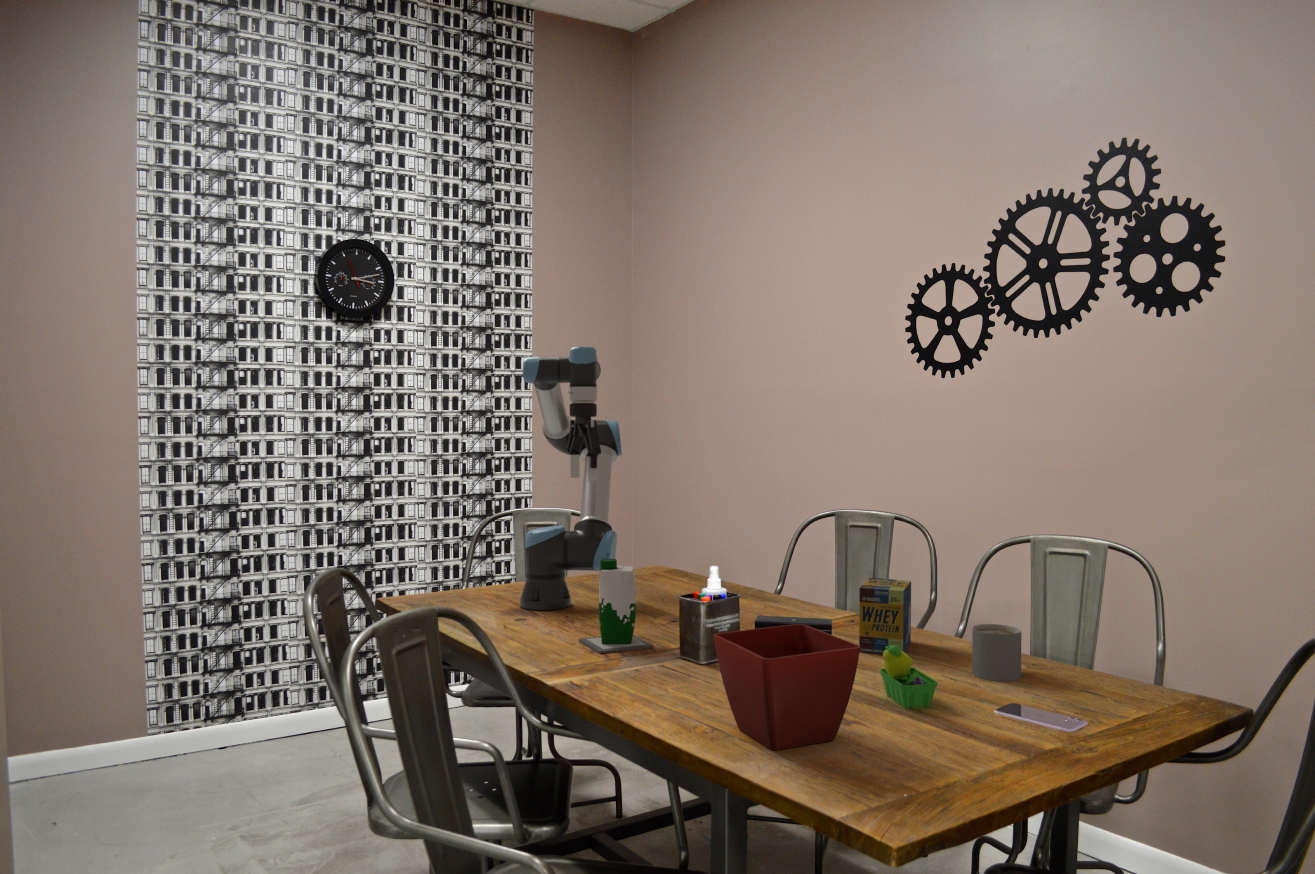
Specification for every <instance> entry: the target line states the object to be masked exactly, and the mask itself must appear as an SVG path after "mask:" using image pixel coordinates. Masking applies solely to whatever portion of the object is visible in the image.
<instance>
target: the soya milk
mask: <svg viewBox="0 0 1315 874" xmlns="http://www.w3.org/2000/svg"><path fill="white" fill-rule="evenodd" d="M617 562H618V560H617V559H616V558H615V559H602V560H600V566H601V568H600V570H599V584H598V585H599V587H598V622H599V632H600V636H601V639H602V644H631V643H632V637H633V635H634V630H635V625H636V619H637V617H636V616H637V599H636V598H637V589H636V578H635V572H634V566H633V565H631V566H630V565H629V566H627V565H626V566H624V565H618V563H617Z"/></svg>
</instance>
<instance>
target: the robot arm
mask: <svg viewBox="0 0 1315 874" xmlns="http://www.w3.org/2000/svg"><path fill="white" fill-rule="evenodd" d="M601 372H602V368H601V364H600V363H599V361H598V356H597V349H596V348H595V347H594V346H573V347H571V348H570V349H569V356H530V357H529V356H527V357H525V358H524V360H523V362H522V378H523V380H524V381H523V382H525V383H527V384H531V385H532V384H533V387H534V390H535V393H536V397H537V401H538V406H539V408H540V409H539V410H540V412H541V417H542V420H543V421H542V423H541V429H542V433H543V435H544V438H545V439H546V440H547V442H548V443H549V444H550V445H551V447H553V448H555V449H556V450H557V451H559V452H560V453H562V454H565V455H567V456H569V478H570V479H573V478H574V479H576V478H578V479H579V478H580V474H581V473H580V471H581V470H580V469H581V467H580V460H581V461H583V463H584V470H583V478H582V479H583V480H582V491H581V501H580V513H579V521H577V522H576V523H575V524H574V527H573V530H566V527H565V525H553V526H545V527H539V528H538V527H537V528H535V529H532V530H530V531H528V532H527V533H526V535H525V545H524V548H525V581H524V584H523V588H522V591H521V595H520V597H519V607H521V609H525V610H531V611H532V610H533V611H552V610H554V611H555V610H562V609H565V608H568V607H570V606H571V605H572V596H571V594H570V590H569V587H568V584H567V581H566V571H594V572H598V571H599V572H600V568H601V566H600V560H602V559H616V558H615V557H616V554H617V553H616V552H617V541H618V536H617V532H616V531H615V530H613V526H612V525H611V524H610V522H609V514H610V511H609V510H610V494H611V482H612V481H611V479H612V465H614V464H615V462H616V461H617V458H618V457H620V456H622V454H623V453H622V452H623V451H622V443H621V442H622V441H621V433H620V430H621V429H620V425H619V423H618V421H616V420H613V419H612V420H611V419H610V420H609V419H603V420H602V419H601V420H599V419H598V420H597V419H592V417H594V418H595V417H596V416H597V415H598V413H597V410H598V408H597V403H596V402H597V401H598V387H597V380H598V379H599V378H600V376H601ZM561 383H562V384H564V383H565V384H566V383H567V384H568V383H569V390H568V391H567V393H568V394H569V402H571V403H569V416H568V413H567V409H566V405H565V401H564V400H565V399H564V396H563V391H562V388H561ZM572 417H574V419H571V418H572ZM580 458H581V459H580Z"/></svg>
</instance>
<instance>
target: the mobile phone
mask: <svg viewBox="0 0 1315 874" xmlns="http://www.w3.org/2000/svg"><path fill="white" fill-rule="evenodd" d="M993 713H994V714H997V715H1000V716H1005V717H1007V718H1012V719H1015V720H1020V721H1022V722H1023V721H1024V722H1028V723H1031V724H1035V725H1040V726H1042V727H1047V728H1050V729H1055V730H1058V731H1063V732H1067V733H1071V732H1075V731H1077V730H1079V729H1081V728H1085V727H1086V726H1088V721H1086V720H1085V719H1082V718H1078V717H1074V716H1069V715H1065V714H1061V713H1057V712H1053V711H1049V710H1045V709H1040V708H1037V707H1032V706H1028V705H1025V704H1019V703H1014V702H1011V703H1008V704H1005V705H1003V706H1000V707H998V708H996V709H995V710H993Z"/></svg>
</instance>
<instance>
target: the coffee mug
mask: <svg viewBox="0 0 1315 874" xmlns="http://www.w3.org/2000/svg"><path fill="white" fill-rule="evenodd" d="M971 630H972V632H971V633H972V635H971V641H972V643H971V644H972V645H971V649H972V651H971V652H972V653H971V655H972V656H971V666H972V667H971V674H972V675H973V676H974V677H976V678H979V679H982V680H985V681H992V682H1008V683H1009V682H1016V681H1018V680H1021V679H1022V630H1021V629H1020V628H1019V627H1015V626H1011V625H1007V624H999V623H997V624H995V623H983V624H974V625H973V626H972V629H971Z"/></svg>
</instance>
